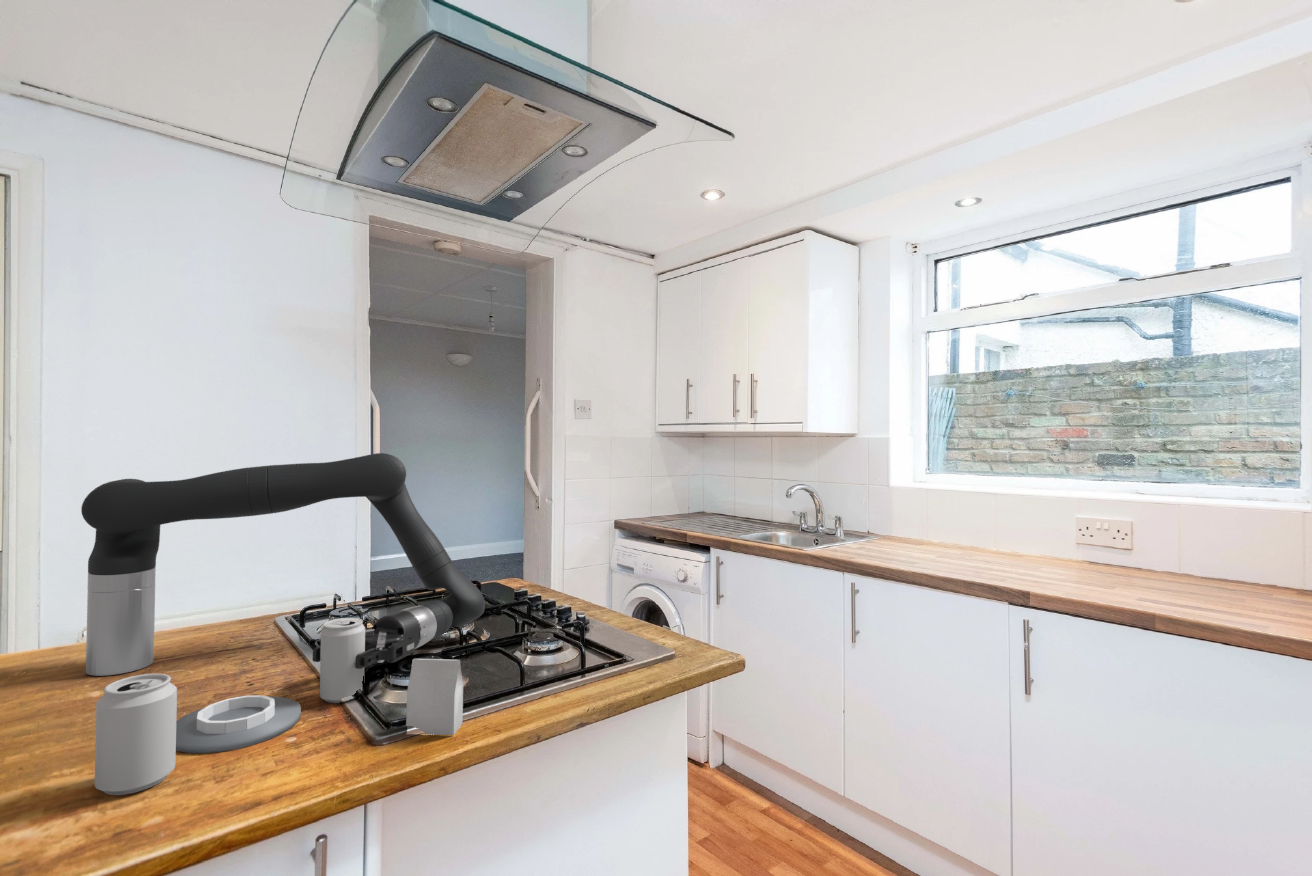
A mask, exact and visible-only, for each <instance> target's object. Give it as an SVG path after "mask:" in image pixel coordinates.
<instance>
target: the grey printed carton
mask: <svg viewBox="0 0 1312 876" xmlns="http://www.w3.org/2000/svg"><path fill="white" fill-rule="evenodd" d="M463 681H464V680H463V675H462V666H461V659H444V658H440V659H439V658H413V659H412V662H411V669H410V673H409V681H408V685H407V689H406V690H407V691H406V714H405V715H406V720H405V727H406V726H413V727H416V728H419V729H420V730H421V731H423V732H424V733H425V734H430V735H431V734H432V735H433V734H434V735H453V736H452V737H455V735H456V734H457V732H458V731H459V730H460V728H461V727H462V726H461V724H462V725H463V712H464V711H463V710H464V708H463V707H464V682H463ZM460 726H461V727H460ZM458 729H459V730H458ZM457 730H458V731H457ZM456 731H457V732H456ZM455 733H456V734H455ZM454 734H455V735H454Z"/></svg>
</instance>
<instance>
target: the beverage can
mask: <svg viewBox="0 0 1312 876" xmlns="http://www.w3.org/2000/svg"><path fill="white" fill-rule="evenodd" d="M363 623H364V620H363V619H361V618H360V617H341V618H334V619H331V620H328V621H326V622H324V624H323V628H322V630H321V631H320V646H321V654H320V661H319V663H320V665H319V667H320V669H319V696H320V698H321V699H322V700H324V701H325V702H328V703H331V704H340V701H341V699H342V698H344V697H348V696H351V695H354V694H355V693H356V691H357V690H359V689H361V687H362V681H363V676H364V677H365V668H366V667H364V668H362V669H357V668H356V667H355V662H356V656H357V655H358V654H360V653H362V652H365V630H366V627H365V626H364V624H363Z"/></svg>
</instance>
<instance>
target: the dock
mask: <svg viewBox="0 0 1312 876" xmlns="http://www.w3.org/2000/svg"><path fill="white" fill-rule="evenodd" d="M301 706H302V705H300V703H299V702H298V701H296V700H294V699H292V698H289V697H284V696H283V697H282V696H273V695H272V696H271V695H270V696H269V695H267V696H266V695H256V694H255V695H254V694H253V695H243V696H242V695H241V696H235V697H230V698H227V699H223V700H220V701H217V702H214V703H211V704H208V705H207V706H204V707H203V708H199V709H197V710H194V711H191V712H190V713H188V714H186V715H184V716H182V717H179V719H176V752H179V751H181V752H180V753H184V754H213V753H215V754H216V753H220V752H221V753H222V752H229V751H235V750H238V749H243V748H247V747H251V746H255V745H257V744H260V743H263V742H266V741H268V740H269V741H270V740H271V739H273V738H275V737H278V736H281V735H282V734H284V733H286V732H287V731H289V730H290V729H292V728H293V727H295V725H296V724H297V723H298V722H299V721H300V718H301V715H302V712H301V710H302V707H301Z"/></svg>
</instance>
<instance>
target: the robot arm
mask: <svg viewBox="0 0 1312 876" xmlns="http://www.w3.org/2000/svg"><path fill="white" fill-rule="evenodd" d="M406 477H407V470H406V467H405V465H404V463H403V462H402V460H400V459H399V458H398V457H397V456H395V455H392V454H389V453H384V452H383V453H382V452H378V453H371V454H366V455H362V456H357V457H353V458H346V459H341V460H335V461H328V462H327V461H326V462H305V463H303V462H302V463H287V464H272V465H261V466H249V467H243V468H236V469H228V470H224V471H220V472H219V471H218V472H214V473H210V474H205V475H200V476H196V477H191V478H186V479H178V480H162V481H144V480H141V479H137V478H122V479H117V480H111V481H107V482H106V483H105V482H104V483H103V484H100V485H99V486H97V487H96V488H94V489H92V490H91V491H90V492H89V493H88V494H87V495H86V497H85V498H84V500H83V501H82V504H81V507H80V509H81V516H82V518H83V520H84V521H85V523H86V524H88V525H89V526H90V527H92V528H93V529H95V538H94V539H95V540H94V545H93V548H92V551H91V553H90V555H89V556H88V562H87V596H86V597H87V602H86V603H87V604H86V608H87V609H86V641H85V642H86V644H85V646H86V647H85V649H86V650H85V674H87V675H89V676H97V677H98V676H99V677H100V676H101V677H103V676H112V675H113V676H114V675H121V674H125V673H126V674H128V673H130V672H135V671H138V670H141V669H143V668H147V667H148V666H151V665H152V664H153V663H154V660H155V659H154V657H155V655H154V654H155V653H154V652H155V618H156V617H155V615H156V614H155V613H156V612H155V611H156V607H155V606H156V568H157V567H156V565H157V555H158V552H159V549H160V548H159V547H160V539H161V525H165V524H170V523H177V522H183V521H192V520H193V521H194V520H219V519H230V518H231V519H232V518H233V519H234V518H242V517H243V518H245V517H246V518H247V517H254V516H262V515H263V516H264V515H271V514H277V513H283V512H288V511H292V510H297V509H301V508H303V507H307V506H310V505H314V504H317V503H320V502H325V501H329V500H336V499H342V498H343V499H344V498H359V497H360V498H364V497H365V498H367V500H368V501H369V503H371V505H372V506H373V507H374V508H375V509H376V510H377V511H378V513H379V514H380V515H381V516H382V518H383V519H384V520H385V522H386V523H387V524H388V526H389V528H390V529H391V530H392V532H393V534H394V535H395V537H396V538H397V539H396V540H397V541H398V542H399V544H400V546H401V547H402V549H403V551H404V553H405V555H406V557H407V559H408V561H409V562H410V564H411V566H412V568H413V569H414V571H415V573H416V574H417V576H418V579H420V581H421V582H422V584H423V586H424V587H425V589H427V590H428V591H429V590H430V591H433V590H438V589H445V591H447V592H448V593H449V595H448V594H447V596H445V597H443V598H441V599H439V600H431V601H426V602H424V603H422V604H419V605H415V606H410V607H407V608H403V609H401V610H398V611H395V612H391V613H390V614H387V615H384V616H381V617H380V618H378V619H377V620H376V621H375V623H374V624H373V626H372V627H371V628H370V629H365V652H362V653H360V654H358V655H357V656H356V662H355V667H356V668H357V669H362V668H364V667H365V668H366V667H369V666H371V665H373V664H375V663H376V664H377V663H378V664H381V663H384V662H385V661H386V660H387V663H388V664H393V663H396V662H398V661H400V660H402V659H403V658H406V657H407V656H409V655H411V654H413V653H414V651H415V650H417V649H418V648H420V647H422V646H424V645H425V644H427V643H428V642H430V641H432V640H435V639H437V638H439V637H441V636H443V635H442V634H444V633H446V632H447V631H448V630H449V628H450V627H451V626H454V627H460V628H462V627H464V626H466V625H467V624H469V623H471V622H474V621H475V620H476V619H479V618H480V617H481V616H482V615H483V614H484V612H485V608H486V603H485V602H486V601H485V597H484V596H483V592H482V591H481V590H480V589H479V588H478V587H477V585H475V584H474V583H473V582H472V581H471V580H470V579H469V578H468V577H467V576H466V575H465V574H464V573H462V571H460V569H459V568H458V567H457V566H456V565H455V563H453V561H452V558H450V555H449V553H448V552H447V550H446V549H445V547H444V546H443V544H442V543H441V541H440V539H439V538H438V537H437V535H436V534H435V533H434V531H433V530H432V529H431V528H430V527H429V525H428V523H426V521H425V520H424V518H423V517H422V515H421V514H420V513H419V511H418V509H417V508H416V506H415V504H414V502H413V501H412V498H411V496H410V494H409V490H408V488H407V485H406ZM440 635H441V636H440ZM444 635H445V634H444ZM438 636H439V637H438ZM436 637H437V638H436ZM320 654H321V645H319V646H317V647H314V648H313V650H312V661H313V662H314V663H320ZM365 668H364V669H365Z"/></svg>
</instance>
